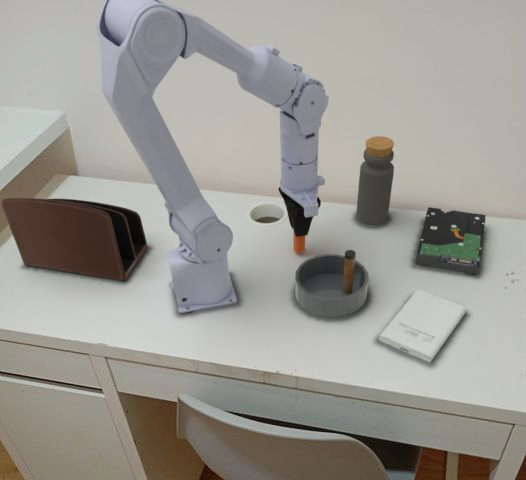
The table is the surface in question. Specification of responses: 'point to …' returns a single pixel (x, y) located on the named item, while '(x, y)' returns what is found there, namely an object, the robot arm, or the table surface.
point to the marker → (299, 243)
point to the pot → (329, 286)
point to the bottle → (375, 181)
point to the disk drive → (451, 241)
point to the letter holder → (76, 236)
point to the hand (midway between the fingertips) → (299, 230)
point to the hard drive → (423, 325)
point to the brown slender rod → (348, 271)
